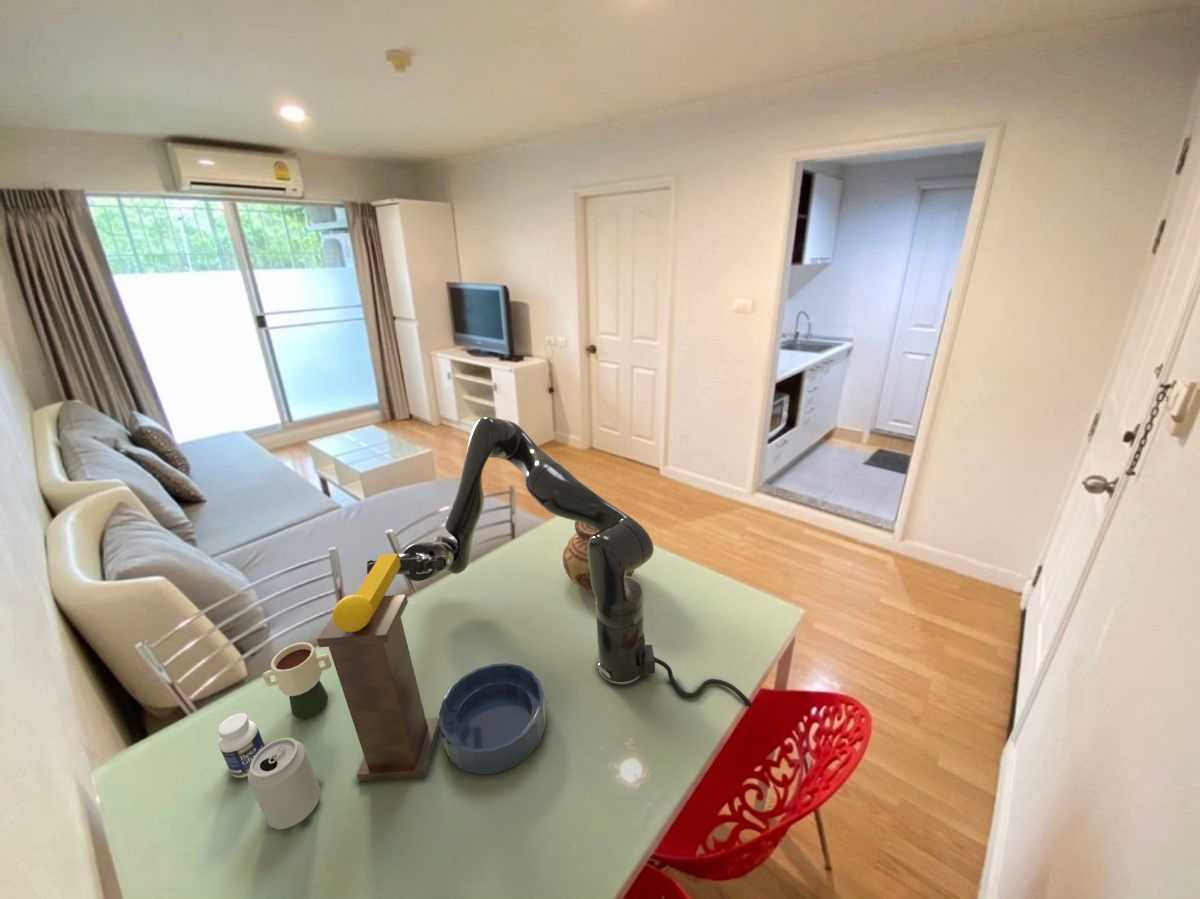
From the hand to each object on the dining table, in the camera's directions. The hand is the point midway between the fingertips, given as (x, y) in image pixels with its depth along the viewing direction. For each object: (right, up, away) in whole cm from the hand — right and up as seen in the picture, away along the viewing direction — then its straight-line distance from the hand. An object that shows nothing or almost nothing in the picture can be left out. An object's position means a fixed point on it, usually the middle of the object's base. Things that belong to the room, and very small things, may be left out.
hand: (394, 568), depth 87 cm
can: (-12, -36, -9) cm, 39 cm away
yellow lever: (0, -3, -9) cm, 9 cm away
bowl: (+18, -30, +3) cm, 35 cm away
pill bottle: (-24, -34, -2) cm, 41 cm away
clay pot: (+37, -13, +41) cm, 57 cm away
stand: (+2, -32, -1) cm, 32 cm away
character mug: (-20, -29, +8) cm, 36 cm away
